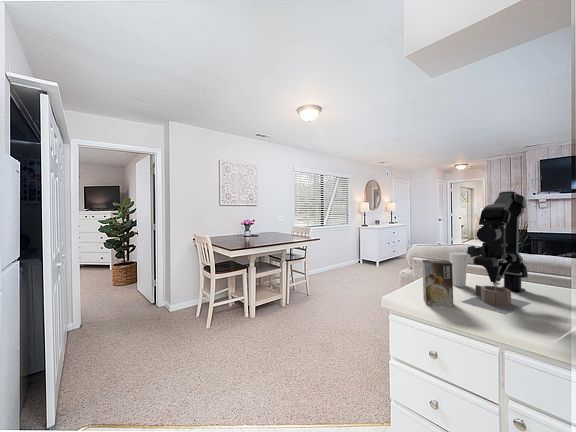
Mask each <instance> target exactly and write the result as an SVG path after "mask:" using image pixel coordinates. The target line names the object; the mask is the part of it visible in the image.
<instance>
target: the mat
mask: <svg viewBox="0 0 576 432" xmlns="http://www.w3.org/2000/svg"><path fill="white" fill-rule="evenodd" d="M460 302H461V303H463V304H467V305H470V306H472V307H473V306H474V307H477V308H482V309H484V310H485V309H486V310H488V311H492V312H496V313H499V314H503V315H508V314H509V313H510V314H511V313H512V312H515V311H517V310H518V309H521V308H523V307H525V306H528V305H530V304H531V302H528V301H525V300H521V299H516V298H512V297H511V305H510V306H506V307H505V306H494V305H490V304H487V303H484V302H483V301H482V300H481V297H479V296H476V295H475V296H474V297H472V298H468V299H465V300H462V301H460Z"/></svg>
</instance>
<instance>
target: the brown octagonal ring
mask: <svg viewBox="0 0 576 432" xmlns="http://www.w3.org/2000/svg"><path fill="white" fill-rule="evenodd" d="M502 287H503V286H497V292H495V291H494V285H483V286H482V285H477V284H476V285H475V297H476V296H479V297H481V300H482V301H483V302H484V303H487V304H490V305H494V306H505V307H506V306H510V305H511V298H512V291H510V290H508V289H507V288H502Z"/></svg>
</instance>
